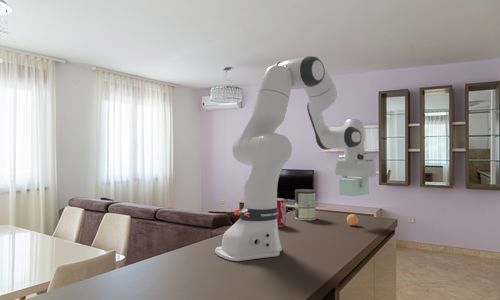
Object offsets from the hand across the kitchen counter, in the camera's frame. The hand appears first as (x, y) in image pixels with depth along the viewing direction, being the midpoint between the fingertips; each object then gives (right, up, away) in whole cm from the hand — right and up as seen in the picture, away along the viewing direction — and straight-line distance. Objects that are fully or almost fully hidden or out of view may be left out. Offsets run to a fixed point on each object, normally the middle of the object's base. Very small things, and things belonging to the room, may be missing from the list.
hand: (354, 186), depth 153 cm
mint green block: (0, -3, 0) cm, 3 cm away
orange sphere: (-1, -15, -1) cm, 15 cm away
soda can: (-35, -18, -1) cm, 39 cm away
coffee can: (-20, -18, +16) cm, 31 cm away
